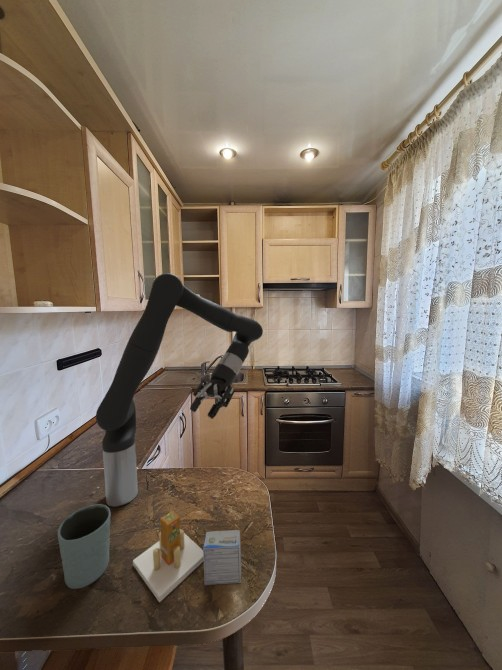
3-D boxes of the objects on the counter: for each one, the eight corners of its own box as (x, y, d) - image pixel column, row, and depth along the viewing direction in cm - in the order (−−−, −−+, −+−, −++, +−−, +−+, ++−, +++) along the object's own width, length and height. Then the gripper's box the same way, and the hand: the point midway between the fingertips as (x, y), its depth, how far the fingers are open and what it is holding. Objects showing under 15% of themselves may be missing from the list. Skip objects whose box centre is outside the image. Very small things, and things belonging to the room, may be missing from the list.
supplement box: (168, 567, 56) (166, 525, 55) (161, 557, 58) (158, 517, 58) (181, 556, 58) (179, 516, 58) (173, 547, 61) (171, 509, 60)
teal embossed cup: (85, 547, 63) (82, 502, 62) (123, 550, 62) (120, 504, 61) (49, 591, 53) (44, 538, 52) (93, 595, 52) (89, 541, 51)
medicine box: (241, 564, 58) (240, 528, 57) (241, 584, 53) (240, 546, 53) (207, 566, 57) (205, 530, 57) (204, 586, 53) (202, 548, 52)
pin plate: (133, 565, 58) (131, 544, 58) (178, 531, 67) (177, 512, 67) (159, 602, 50) (158, 578, 50) (206, 558, 59) (205, 537, 59)
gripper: (206, 360, 85) (179, 402, 77) (236, 365, 76) (208, 413, 68) (219, 373, 89) (194, 414, 81) (248, 378, 80) (223, 425, 72)
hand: (200, 413), depth 74 cm, fingers open, 8 cm apart
